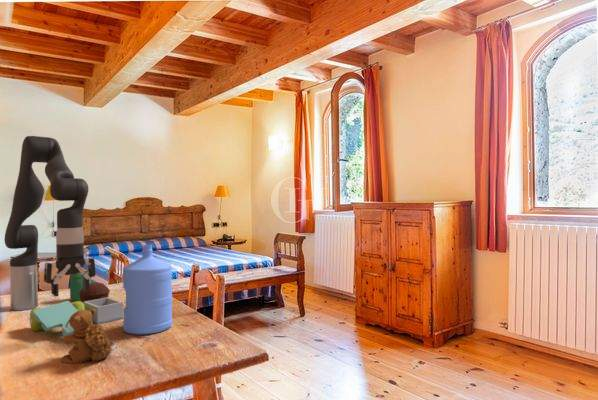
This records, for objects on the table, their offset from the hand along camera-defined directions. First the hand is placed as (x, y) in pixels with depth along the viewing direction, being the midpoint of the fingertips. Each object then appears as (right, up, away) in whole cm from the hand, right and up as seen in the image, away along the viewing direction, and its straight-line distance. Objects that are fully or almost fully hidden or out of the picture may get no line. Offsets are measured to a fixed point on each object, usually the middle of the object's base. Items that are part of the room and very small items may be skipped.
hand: (70, 293), depth 131 cm
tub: (0, -14, +21) cm, 25 cm away
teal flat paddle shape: (-5, -11, +5) cm, 13 cm away
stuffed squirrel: (+14, -14, -16) cm, 26 cm away
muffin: (-10, -14, +36) cm, 40 cm away
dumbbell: (-12, -15, +13) cm, 23 cm away
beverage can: (-23, -14, +50) cm, 56 cm away
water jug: (+21, -14, +10) cm, 27 cm away
